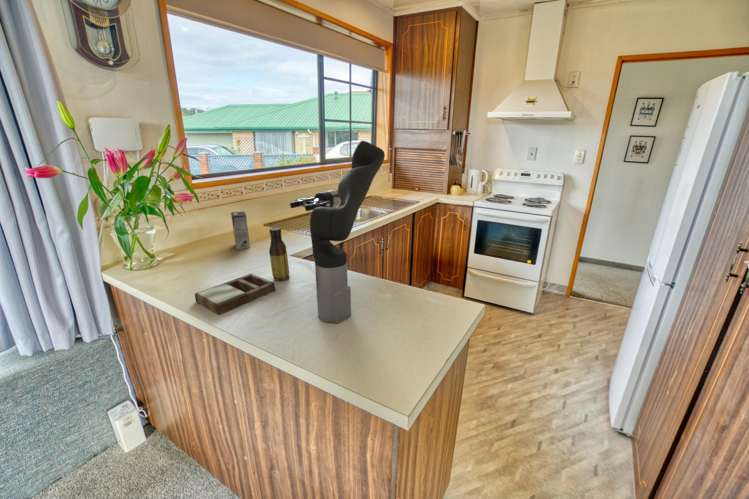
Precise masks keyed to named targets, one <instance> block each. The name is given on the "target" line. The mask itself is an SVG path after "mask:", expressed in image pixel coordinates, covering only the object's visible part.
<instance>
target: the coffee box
mask: <svg viewBox="0 0 749 499" xmlns="http://www.w3.org/2000/svg"><path fill="white" fill-rule="evenodd" d="M230 217H231V222H232V229H233V230H232V232H233V236H234V242H235V248H236V250H242V249H249V248H251V244H250V235H249V229H248V220H247V214H246V211H233V212H230Z"/></svg>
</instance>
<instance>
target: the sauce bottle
mask: <svg viewBox="0 0 749 499" xmlns="http://www.w3.org/2000/svg"><path fill="white" fill-rule="evenodd" d="M269 234H270V247H269V250H268V251H269V258H270V266H271V272H272V273H271V274H272V277H273V280H275V281H279V282H282V281H287V280H288V279H289V278H290V268H289V266H290V265H289V259H288V251H287V246H286V244H285V242H284V241H283V240H282V239H283V237H282V228H281V227H278V226H274V227H270V228H269Z"/></svg>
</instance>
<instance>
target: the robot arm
mask: <svg viewBox="0 0 749 499" xmlns="http://www.w3.org/2000/svg"><path fill="white" fill-rule="evenodd" d="M385 154H386V153H385V151H384V150H383V149H382V148H381V147H379V146H376V145H374V144H372V143H370V142H368V141H366V140H360V141H359V142H358V144H357V145H356V147H355V149H354V151H353V154H352V158H351V167H350V169H349V170H347V171H346V172H345V173H344V174H343V176H342V178H341V179H340V181H339V184H338V187H337V189H333V190H326V191H320V192H317V193H316V194H315V195H314V197H310V198H308V197H301V198H297V199H294V200H295V201H292V202H289V206H290V208H291V209H295V208H301V207H302V208H304V209H305V210H304V211H305V212H310V211H311V214H310V218H309V230H310V238H311V240H310V241H311V247H312V248H311V249H312V256H313V259H314V268H315V269H314V270H315V286H316V288H315V289H316V301H317V315H318V316H317V317H318V318H319V320H321V321H322V322H325V323H335V324H339V323H341V322H343V321H344V320H346V319H347V318H349V317H350V316H352V300H351V298H352V297H351V290H352V289H351V287H350V286H349V282H348V255H347V252H346V251H345V250H343V249H342V248H339V247H338V246H336V245H334V244H333V243H332V242H344V241H346V240H347V239H348V237H349V236H350V234H351V232H352V229H353V228H354V223H355V221H356V218H357V215H358V212H359V210H360V208H361V206H362V204H363V202H364V201H365V198H366V196H367V194H368V192H369V190H370V187H371V185H372V183H373V181H374V178H375V177H376V174H377V173H378V172H379V170H380V169H381V166H382V165H383V163H384V161H385V156H386V155H385ZM340 206H341V207H340ZM331 241H332V242H331Z"/></svg>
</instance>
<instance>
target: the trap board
mask: <svg viewBox="0 0 749 499" xmlns="http://www.w3.org/2000/svg"><path fill="white" fill-rule="evenodd" d="M274 292H276V283H275V282H273V281H271V280H269V279H265V278H263V277H260V276H258V275H256V274H253V273H249V274H246V275H243V276H240V277H237V278H235V279H231V280H229V281H225V282H224V283H221V284H217V285H215V286H212V287H210V288H207V289H204V290H200V291H198V292H196V293H194V298H195V303H196V304H197V303H198V304H199V305H201V306H202V307H204V308H206V309H208V310H210V311H212V312H213V313H215V314H216V315H218V316H220V315H222V314H225V313H227V312H229V311H232V310H234V309H237V308H238V307H241V306H243V305H246V304H248V303H249V302H253V301H255V300H257V299H259V298H262V297H264V296H266V295H270V294H271V293H274Z"/></svg>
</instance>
